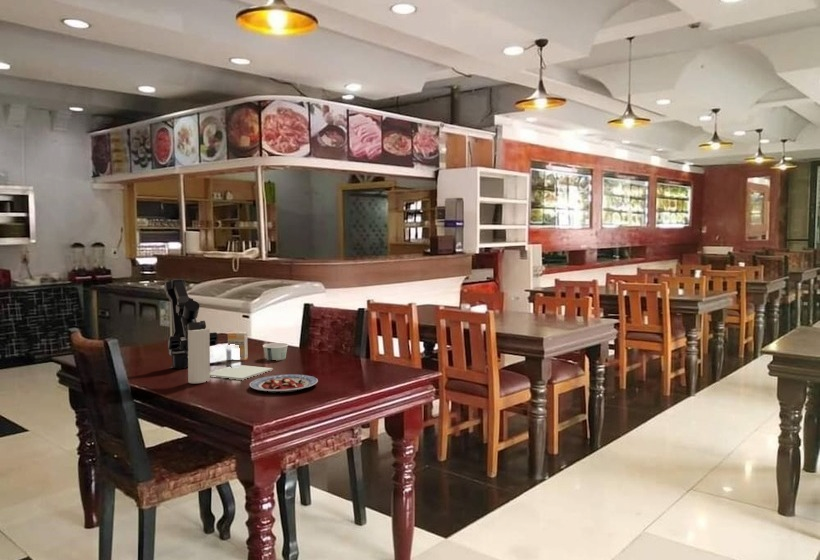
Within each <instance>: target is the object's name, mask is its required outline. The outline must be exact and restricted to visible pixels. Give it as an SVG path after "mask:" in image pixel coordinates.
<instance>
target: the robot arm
mask: <svg viewBox="0 0 820 560" xmlns="http://www.w3.org/2000/svg"><path fill="white" fill-rule="evenodd" d="M186 284H187V283H186V281H185V279H183V278H173V279H171V280H169V281H165V283H164V285H163V291H164V292H165V296H166V298H167V299H168V300H169V301H170V304H171V305H170V306H171V315H172V327H173V334H172V335H171V336H169V337H168V341H167V347H168V354H169V356H171V358H172V359H171V360H172V361H171V362H172V366H170V367H169V369H172V368H177V369H176V370H182V369H181V368H184V369H186V368H185V367H188V351H189V350H188V330H194V329H199V330H202V329H204V330H206V328H207V325H206V321H205V320H199V321H197V318H198V315H199V311H200V307H201V306H200V305H201V304H200V303H199V302H198V301H196V300H194V299H193V298H192V297H189V294H188V291H187V285H186ZM218 340H219V334H218V333H217V332H215V331H214V332H210V346H213V347H214V346H217V344H218Z"/></svg>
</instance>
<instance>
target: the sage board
mask: <svg viewBox="0 0 820 560" xmlns="http://www.w3.org/2000/svg"><path fill="white" fill-rule="evenodd" d="M239 365H240V367H239V368H234V369H232V368H231V367H230V366H227V367H223V368H220V369H217V370H213V371H210V376H216V377H223V378H229V379H228V380H232V379H236V380H235V381H241V380H242V381H245V380H244V379H246V380H248V379H247V378H249V379H251V378H250V377H252V378H254V377H253V376H255V377H257V375H258V376H261V375H264V374H266V373H265V372H267V373H269V372H268V371H270V372H271V371H272V370H273V371H274V368H273V367H264V366H263V367H262V366H255V365H253V366H252V365H244V364H239ZM273 371H272V372H273ZM263 373H264V374H263ZM260 374H261V375H260ZM223 378H222V379H223Z"/></svg>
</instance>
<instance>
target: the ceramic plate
mask: <svg viewBox="0 0 820 560" xmlns="http://www.w3.org/2000/svg"><path fill="white" fill-rule="evenodd" d="M318 382H319V380H318V378H316V377H315V376H313V375H312V376H311V375H308V374H297V373H296V374H293V373H292V374H288V373H287V374H277V375H276V374H275V375H268V376H263V377H259V378H256V379H254V380H252V381H251V382H249V387H250V388H252V389H254V390H257V391H263V392H267V391H268V393H276V392H280V393H292V392H296V391H297V390H298V391H302V390H303V389H306V388H310V387H312V386H315V385H316V384H317V383H318Z"/></svg>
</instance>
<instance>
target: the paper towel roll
mask: <svg viewBox="0 0 820 560" xmlns="http://www.w3.org/2000/svg"><path fill="white" fill-rule="evenodd" d="M210 333H211V332H210V328H207V329H206V328H205V329H202V330H199V329H194V330H188V350H189V351H188V368H187V372H188V373H187V378H188V379H187V383H189V384H202V383H206V381H207V382H210V380H211V377H210V372H211V368H210V367H211V365H210V364H211V363H210V362H211V361H210V360H211V359H210V358H211V356H210V353H211V351H210V348H211V347H210Z"/></svg>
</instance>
